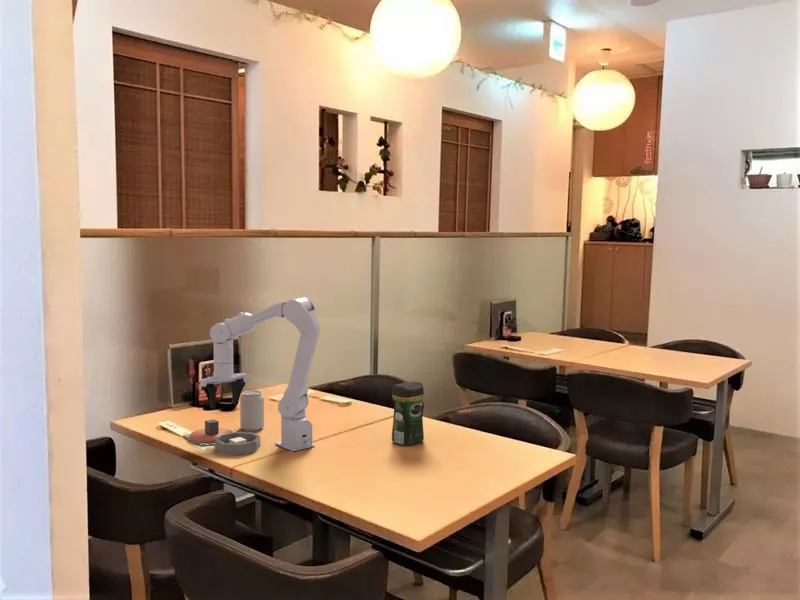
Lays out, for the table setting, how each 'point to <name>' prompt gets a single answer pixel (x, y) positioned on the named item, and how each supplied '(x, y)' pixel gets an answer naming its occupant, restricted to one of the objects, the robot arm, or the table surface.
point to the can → (252, 410)
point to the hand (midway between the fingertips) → (224, 406)
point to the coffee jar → (407, 413)
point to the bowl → (237, 443)
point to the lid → (209, 432)
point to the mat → (195, 441)
